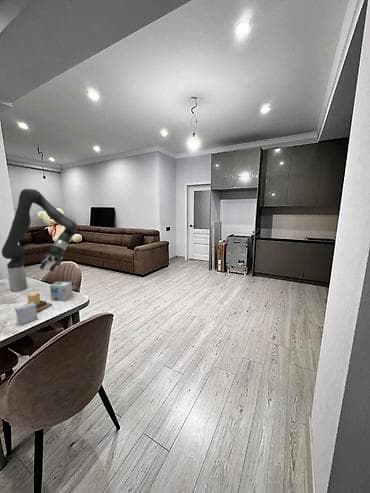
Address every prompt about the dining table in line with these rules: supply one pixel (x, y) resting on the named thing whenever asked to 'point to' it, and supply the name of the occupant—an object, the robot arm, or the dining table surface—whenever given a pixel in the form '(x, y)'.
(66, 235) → the robot arm
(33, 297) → the ochre post
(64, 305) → the dining table surface
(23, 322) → the medicine box
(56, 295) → the light bulb box
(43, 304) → the walnut dock
